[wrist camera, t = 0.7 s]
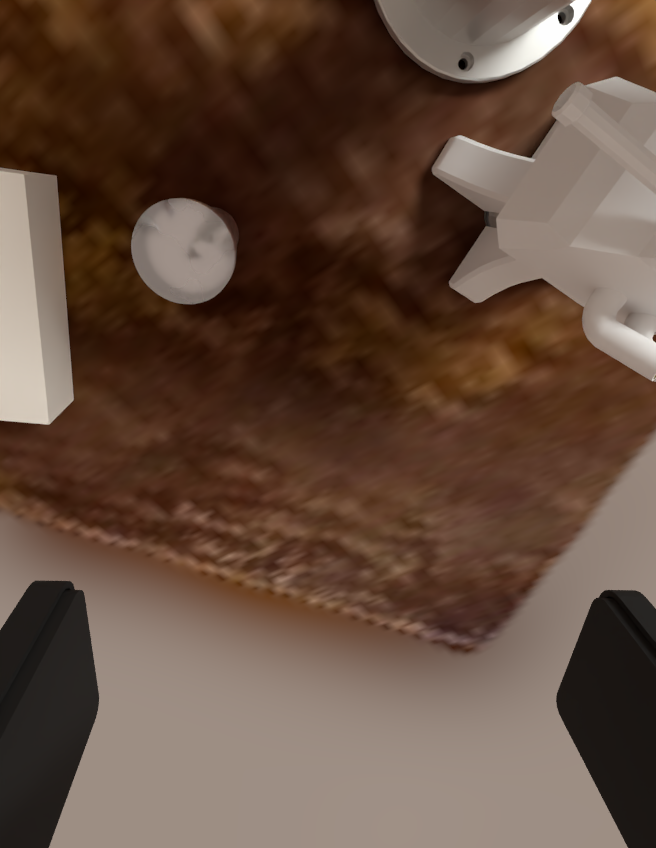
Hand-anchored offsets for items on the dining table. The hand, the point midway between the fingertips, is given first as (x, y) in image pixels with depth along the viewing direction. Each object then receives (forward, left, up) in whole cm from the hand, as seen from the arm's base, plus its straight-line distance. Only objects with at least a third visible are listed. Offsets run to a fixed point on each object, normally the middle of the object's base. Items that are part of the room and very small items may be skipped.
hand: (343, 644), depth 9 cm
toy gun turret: (-8, +12, -27) cm, 31 cm away
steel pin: (-4, -6, -27) cm, 28 cm away
